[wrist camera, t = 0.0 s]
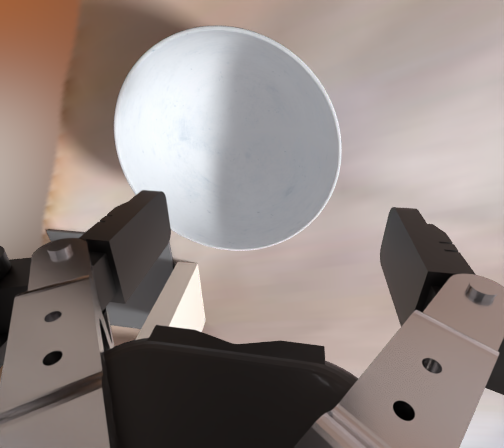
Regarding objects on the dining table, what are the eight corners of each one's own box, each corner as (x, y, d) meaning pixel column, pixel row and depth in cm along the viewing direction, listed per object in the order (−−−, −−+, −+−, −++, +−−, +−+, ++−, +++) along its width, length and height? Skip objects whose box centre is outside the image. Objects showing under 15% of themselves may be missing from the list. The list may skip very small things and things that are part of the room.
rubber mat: (48, 229, 38) (46, 230, 37) (168, 240, 35) (168, 242, 35) (87, 320, 46) (86, 321, 46) (186, 333, 44) (185, 334, 44)
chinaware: (166, -3, 23) (110, -10, 17) (365, 54, 23) (386, 69, 17) (155, 178, 31) (115, 220, 25) (300, 220, 31) (298, 272, 25)
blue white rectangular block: (176, 261, 37) (114, 372, 26) (197, 263, 37) (145, 377, 25) (186, 318, 43) (140, 431, 31) (205, 320, 42) (165, 436, 31)
